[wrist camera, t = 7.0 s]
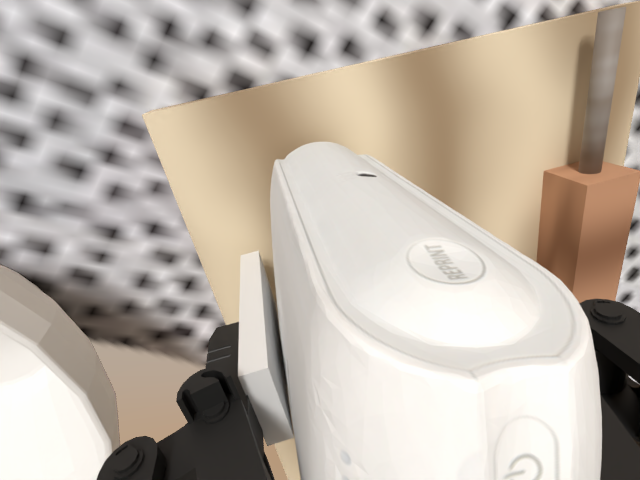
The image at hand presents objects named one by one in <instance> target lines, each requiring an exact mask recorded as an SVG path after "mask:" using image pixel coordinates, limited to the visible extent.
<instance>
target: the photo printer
mask: <svg viewBox="0 0 640 480" xmlns="http://www.w3.org/2000/svg"><path fill="white" fill-rule="evenodd" d="M270 214H271V234H272V249H273V264H274V277H275V287H276V298H277V309H278V319H279V328H280V337H281V346H282V355H283V362H284V369H285V377H286V383H287V390H288V397H289V404H290V411H291V418H292V424H293V431H294V438H295V445H296V452H297V458H298V465H299V472H300V479H301V480H600V474H601V460H602V412H601V399H600V386H599V373H598V367H597V361H596V355H595V350H594V344H593V338H592V333H591V329H590V325H589V321H588V319H587V317H586V315H585V313H584V311H583V309H582V308H581V306H580V304H579V302H578V300H577V299H576V298H575V296H574V295H573V293H572V292H571V291H570V290H569V289H568V288H567V287H566V286H565V284H564V283H563V282H562V281H561V280H560V279H559V278H557V277H556V276H555V275H553V274H552V273H551V272H549V271H548V270H547V269H545V268H544V267H542V266H541V265H540V264H538V263H537V262H535V261H534V260H532V259H530V258H529V257H527V256H525V255H523V254H522V253H520V252H519V251H517V250H516V249H514V248H513V247H511V246H510V245H508V244H507V243H505V242H503V241H502V240H500V239H498V238H497V237H495V236H494V235H492V234H491V233H490V232H488V231H486V230H485V229H483V228H481V227H480V226H478V225H477V224H475V223H474V222H472V221H471V220H469V219H468V218H466V217H465V216H463V215H462V214H460V213H458V212H457V211H455V210H453V209H452V208H450V207H449V206H447V205H446V204H444V203H443V202H441V201H440V200H438V199H436V198H435V197H433V196H432V195H430V194H429V193H427V192H426V191H424V190H423V189H421V188H419V187H418V186H416V185H415V184H413V183H412V182H410V181H409V180H407V179H406V178H404V177H403V176H401V175H399V174H398V173H396V172H395V171H393V170H392V169H390V168H389V167H387V166H386V165H384V164H383V163H381V162H380V161H378V160H377V159H375V158H374V157H372V156H370V155H367V154H363V155H357V154H355V153H354V152H353V151H351V150H350V149H348V148H346V147H344V146H342V145H340V144H337V143H333V142H312V143H309V144H305V145H303V146H301V147H299V148H297V149H295V150H294V151H292V152H291V153H289V154H288V155H287V156H286V158H285V159H284V160H280V159H277V160H275V162H274V166H273V172H272V178H271V189H270Z"/></svg>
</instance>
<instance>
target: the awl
mask: <svg viewBox="0 0 640 480" xmlns="http://www.w3.org/2000/svg"><path fill="white" fill-rule="evenodd" d="M625 13H626V7H620V8H615V9H610V10H605V11H600V12H598V16H597V24H596V32H595V40H594V48H593V56H592V64H591V72H590V80H589V88H588V96H587V105H586V113H585V121H584V129H583V137H582V145H581V153H580V161H579V162H575V163H572V164H568V165H564V166H560V167H556V168H552V169H549V170H545V171H544V173H543V185H542V198H541V210H540V223H539V235H538V248H537V260H536V262H537V263H538V264H540V265H541V266H542V267H544V268H545V269H547V270H548V271H549V272H551V273H552V274H553V275H555V276H556V277H557V278H559V279H560V280H561V281H562V282H563V283H564V284H565V286H566V287H567V288H568V289H569V290H570V291H571V292H572V293H573V295H574V296H575V298H576V299H577V300H578V302H579V303H581V302H583V301H585V300H590V299H608V300H612V301H615V299H616V294H617V289H618V284H619V279H620V275H621V270H622V265H623V260H624V255H625V250H626V245H627V240H628V235H629V231H630V226H631V221H632V216H633V211H634V206H635V201H636V196H637V191H638V187H639V182H640V171H639V170H635V169H631V168H627V167H623V166H620V165H616V164H612V163H608V162H604V161H603V157H604V150H605V143H606V137H607V130H608V124H609V117H610V111H611V104H612V98H613V91H614V85H615V78H616V72H617V65H618V59H619V52H620V46H621V39H622V33H623V26H624V19H625Z"/></svg>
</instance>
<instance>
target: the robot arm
mask: <svg viewBox="0 0 640 480" xmlns="http://www.w3.org/2000/svg"><path fill="white" fill-rule="evenodd" d="M579 304H580V306H581V308H582V309H583V311H584V313H585V315H586V317H587V319H588V321H589V325H590V329H591V333H592V338H593V344H594V350H595V355H596V361H597V367H598V373H599V386H600V399H601V412H602V460H601V474H600V480H640V385H639V384H640V313H639V312H637V311H636V310H634V309H632V308H631V307H629V306H626V305H624V304H622V303H620V302H616V301H612V300H608V299H590V300H585V301H583V302H581V303H579ZM628 375H629V376H631V377H632V378H633V379H634V380H636V381H637V382H638V383H639V384H637V383H636V382H634V381H633V380H631V379H630V378H629V377H628ZM177 403H178V405H179V407H180V409H181V411H182V412H183V414H184V416H185V418H186V420H187V421H188V423H187V424H186V425H185V426H184V427H182V428H181V429H179V430H178V431H176V432H175V433H173V434H171V435H170V436H168V437H166V438H164V439H163V440H161V441H159V442H158V443H156V442H155V441H154V439H153V438H150V437H147V436H143V437H136V438H133V439H131V440H129V441H127V442H125V443H124V444H122V445H121V446H119V447H118V448H117V449H116V450H114V451H113V452H112V454H111V455H110V456H109V457H108V458H107V459H106V460H105V462H104V464H103V466H102V468H101V470H100V471H99V474H98V477H97V480H274V477H273V474H272V471H271V468H270V465H269V462H268V460H267V457H266V455H265V453H264V447H263V446H264V445H263V437H264V439H265V441H266V444H267V446H269V445H272V444H275V443H279V442H282V441H285V440H288V439H291V438H294V435H293V427H292V420H291V413H290V405H289V398H288V390H287V383H286V377H285V369H284V362H283V355H282V346H281V338H280V330H279V323H278V315H277V308H276V302H275V299H274V296H273V293H272V290H271V287H270V284H269V281H268V278H267V274H266V271H265V268H264V265H263V262H262V259H261V256H260V253H259V251H255V252H251V253H248V254H244V255H241V257H240V302H239V322H236V323H232V324H229V325H225V326H222V327H218V328H216V330H215V332H214V333H213V335H212V336H211V338H210V340H209V347H208V354H207V363H206V369H203V370H200V371H198V372H197V373H195V374H194V375H192V376H191V377H189V379H187V381H185V382H184V384H183V385H182V386H181V388H180V390H179V391H178V394H177Z"/></svg>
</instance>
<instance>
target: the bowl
mask: <svg viewBox="0 0 640 480" xmlns="http://www.w3.org/2000/svg"><path fill="white" fill-rule="evenodd" d="M119 446H120V437H119V425H118V413H117V403H116V393H115V391H114V389H113V387H112V385H111V382H110V380H109V378H108V376H107V374H106V372H105V370H104V368H103V366H102V363H101V361H100V359H99V357H98V355H97V353H96V351H95V349H94V347H93V345H92V343H91V341H90V339H89V338H88V337H87V336H86V335H85V334H84V333H83V332H82V330H81V329H80V328H79V327H78V326H77V325H76V324H75V323H74V322H73V321H72V319H71V318H70V317H69V316H68V315H67V314H66V313H65V312H64V311H63V309H62V308H61V307H60V306H59V305H58V304H57V303H56V302H55V301H54V300H53V299H52V298H50V297H49V296H48V295H46V294H45V293H43V292H42V291H41V290H40V289H39V288H38V287H37V286H36V285H34V284H33V283H32V282H30V281H29V280H27V279H26V278H24V277H23V276H22V275H20V274H19V273H17V272H16V271H13V270H11V269H9V268H7V267H5V266H2V265H0V480H97V477H98V474H99V471H100V470H101V468H102V466H103V464H104V462H105V460H106V459H107V458H108V457H109V456H110V455H111V454H112V452H113V451H114V450H116V449H117V448H118V447H119Z"/></svg>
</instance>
